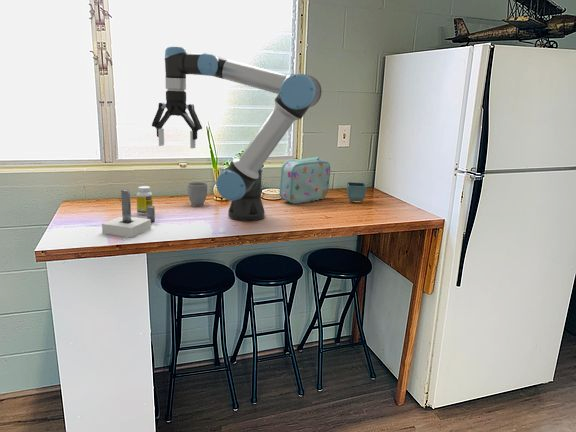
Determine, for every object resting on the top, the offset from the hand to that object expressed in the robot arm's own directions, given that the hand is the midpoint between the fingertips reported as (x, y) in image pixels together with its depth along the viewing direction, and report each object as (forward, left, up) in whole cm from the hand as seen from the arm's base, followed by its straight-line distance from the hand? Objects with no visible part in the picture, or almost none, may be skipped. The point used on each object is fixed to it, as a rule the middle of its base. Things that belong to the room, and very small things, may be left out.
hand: (177, 146), depth 183 cm
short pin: (+7, +9, -29) cm, 31 cm away
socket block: (+8, +23, -29) cm, 38 cm away
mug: (+5, -25, -29) cm, 38 cm away
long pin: (+8, +23, -29) cm, 38 cm away
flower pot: (-63, -62, -29) cm, 93 cm away
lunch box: (-39, -53, -29) cm, 72 cm away
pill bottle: (+16, -1, -29) cm, 33 cm away
